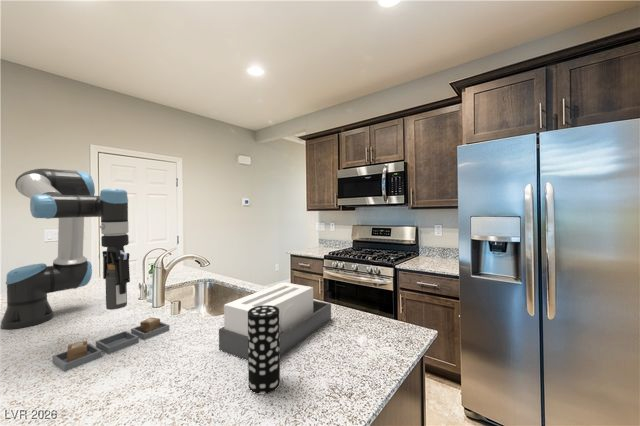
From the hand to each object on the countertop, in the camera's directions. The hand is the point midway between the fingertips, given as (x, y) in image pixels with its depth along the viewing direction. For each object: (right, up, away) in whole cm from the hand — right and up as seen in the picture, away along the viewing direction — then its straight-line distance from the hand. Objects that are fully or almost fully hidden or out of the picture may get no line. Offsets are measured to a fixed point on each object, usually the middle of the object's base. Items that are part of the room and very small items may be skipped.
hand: (116, 301), depth 96 cm
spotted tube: (+55, -16, -21) cm, 61 cm away
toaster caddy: (+55, -15, +9) cm, 58 cm away
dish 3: (+6, -15, +10) cm, 19 cm away
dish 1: (-6, -16, -9) cm, 19 cm away
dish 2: (0, -16, 0) cm, 16 cm away
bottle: (0, -2, 0) cm, 2 cm away
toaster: (+54, -15, +9) cm, 57 cm away
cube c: (-6, -15, -9) cm, 19 cm away
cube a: (+6, -15, +10) cm, 19 cm away
